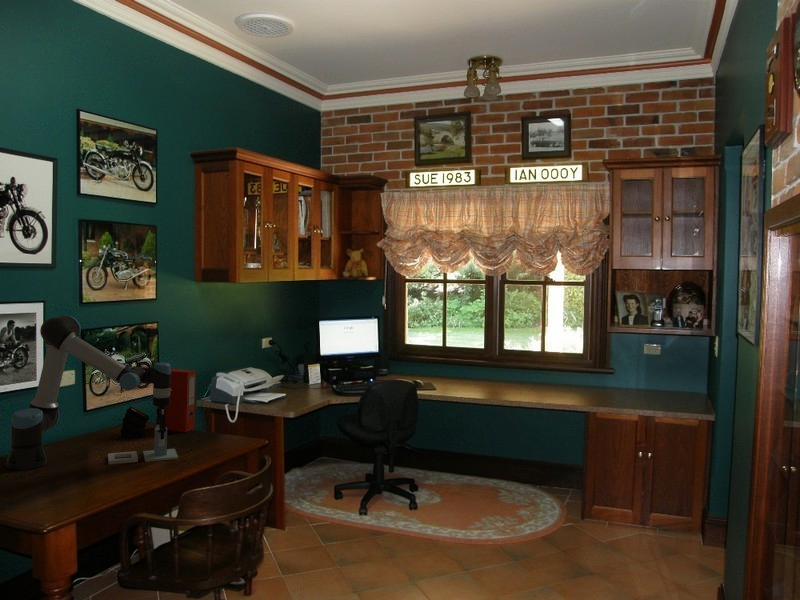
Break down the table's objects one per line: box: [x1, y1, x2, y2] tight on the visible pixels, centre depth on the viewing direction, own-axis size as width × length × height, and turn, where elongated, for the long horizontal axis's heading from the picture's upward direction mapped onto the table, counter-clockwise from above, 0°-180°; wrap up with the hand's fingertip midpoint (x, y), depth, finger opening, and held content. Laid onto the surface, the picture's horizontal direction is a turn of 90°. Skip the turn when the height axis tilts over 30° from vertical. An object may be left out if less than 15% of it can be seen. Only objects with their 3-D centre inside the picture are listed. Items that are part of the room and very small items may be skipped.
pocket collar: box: [107, 451, 139, 465], centre depth 290 cm, size 12×12×2 cm
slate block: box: [153, 427, 168, 456], centre depth 297 cm, size 5×5×12 cm
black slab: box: [119, 406, 150, 438], centre depth 328 cm, size 4×13×15 cm, turn 88°
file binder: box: [165, 368, 197, 433], centre depth 344 cm, size 8×17×32 cm, turn 75°
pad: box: [142, 448, 179, 463], centre depth 297 cm, size 14×14×1 cm
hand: (160, 442), depth 297 cm, fingers open, 13 cm apart
